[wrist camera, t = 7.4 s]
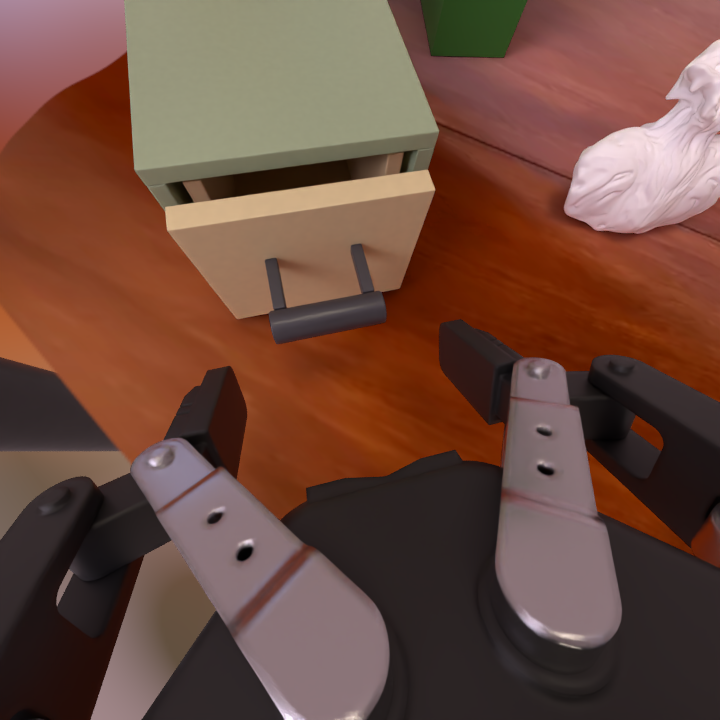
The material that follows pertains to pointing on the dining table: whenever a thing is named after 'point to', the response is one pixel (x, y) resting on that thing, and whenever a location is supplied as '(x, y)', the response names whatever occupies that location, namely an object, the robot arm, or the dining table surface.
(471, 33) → the hardback book
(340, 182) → the drawer
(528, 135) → the dining table surface
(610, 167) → the bust
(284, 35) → the cabinet
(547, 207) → the dining table surface
